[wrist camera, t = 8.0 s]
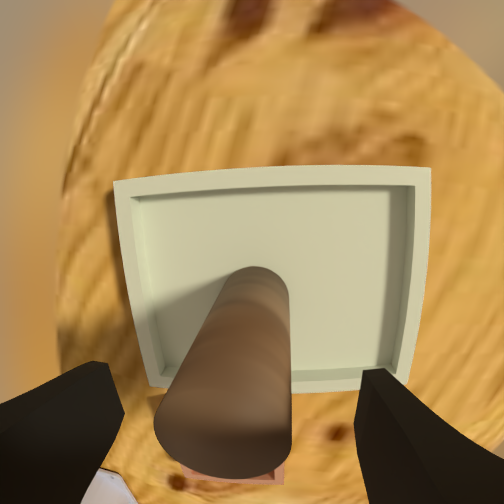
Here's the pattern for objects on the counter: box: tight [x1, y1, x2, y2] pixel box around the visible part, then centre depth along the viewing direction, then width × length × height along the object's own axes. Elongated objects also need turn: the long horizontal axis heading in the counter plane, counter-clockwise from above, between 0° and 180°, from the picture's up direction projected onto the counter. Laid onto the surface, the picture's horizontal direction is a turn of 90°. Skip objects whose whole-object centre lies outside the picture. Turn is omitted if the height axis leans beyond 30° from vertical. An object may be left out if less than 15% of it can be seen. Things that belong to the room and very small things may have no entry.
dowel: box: [154, 266, 292, 479], centre depth 11 cm, size 3×3×9 cm
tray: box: [113, 165, 431, 393], centre depth 15 cm, size 14×11×2 cm
